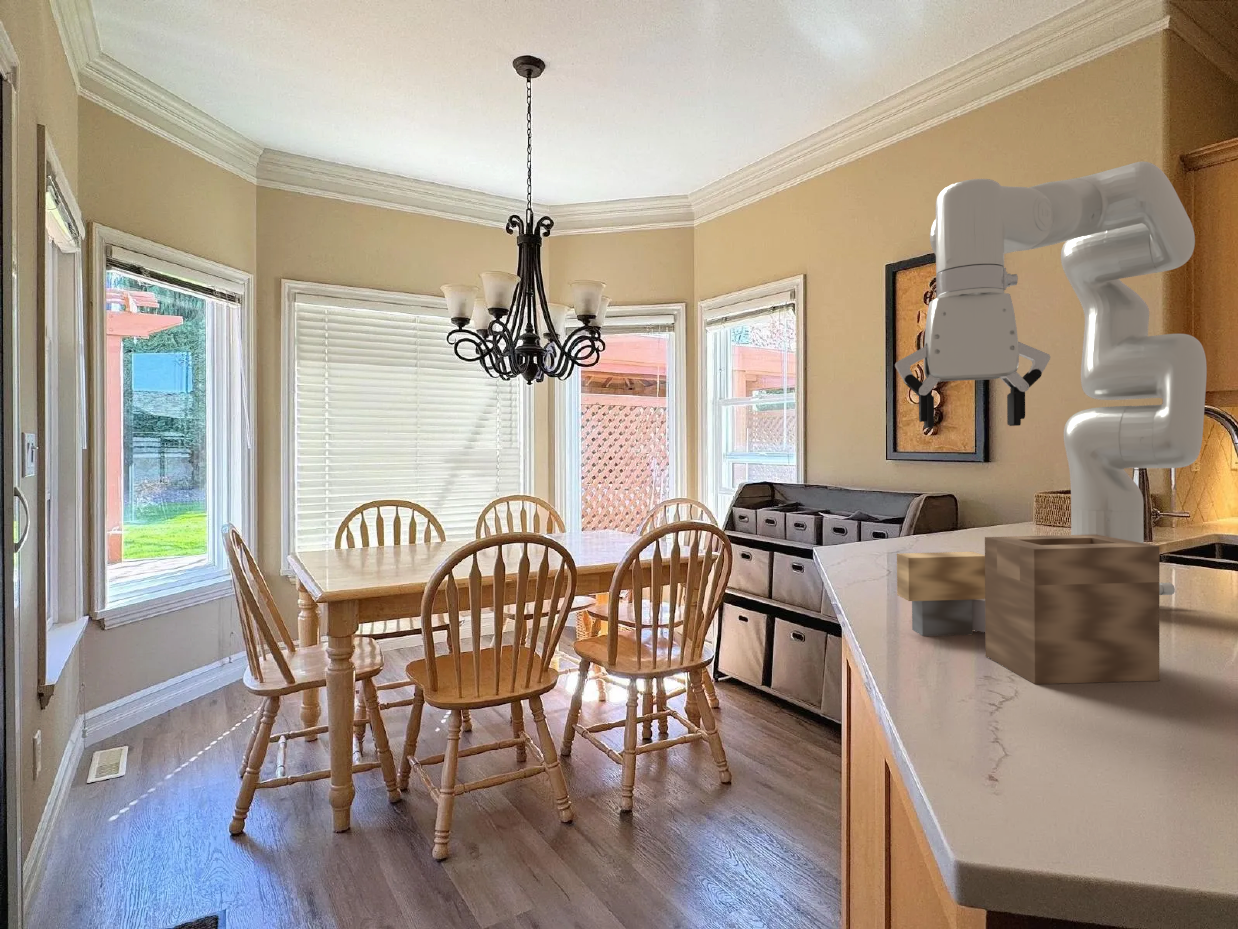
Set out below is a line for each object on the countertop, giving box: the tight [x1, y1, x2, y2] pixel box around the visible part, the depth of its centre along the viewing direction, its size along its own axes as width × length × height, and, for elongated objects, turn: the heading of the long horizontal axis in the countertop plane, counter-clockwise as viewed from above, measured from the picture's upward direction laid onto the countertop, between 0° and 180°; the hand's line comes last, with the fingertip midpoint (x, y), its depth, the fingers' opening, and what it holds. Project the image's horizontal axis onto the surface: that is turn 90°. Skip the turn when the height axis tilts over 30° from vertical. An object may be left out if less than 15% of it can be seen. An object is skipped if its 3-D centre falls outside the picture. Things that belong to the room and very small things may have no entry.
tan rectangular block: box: [896, 551, 985, 637], centre depth 102 cm, size 11×4×11 cm, turn 91°
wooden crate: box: [984, 534, 1160, 685], centre depth 85 cm, size 14×10×15 cm
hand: (970, 426), depth 89 cm, fingers open, 9 cm apart
